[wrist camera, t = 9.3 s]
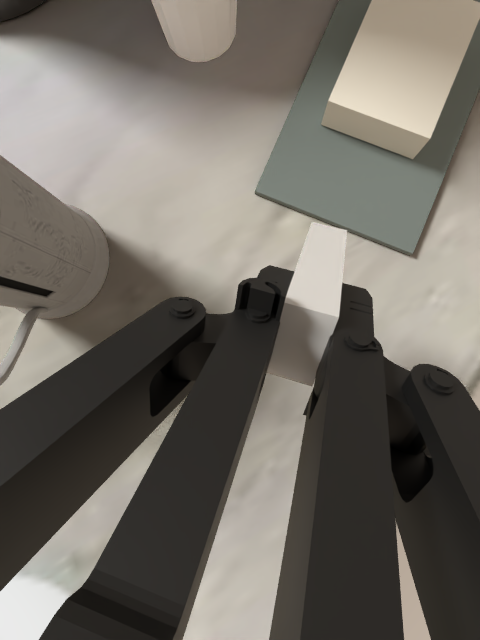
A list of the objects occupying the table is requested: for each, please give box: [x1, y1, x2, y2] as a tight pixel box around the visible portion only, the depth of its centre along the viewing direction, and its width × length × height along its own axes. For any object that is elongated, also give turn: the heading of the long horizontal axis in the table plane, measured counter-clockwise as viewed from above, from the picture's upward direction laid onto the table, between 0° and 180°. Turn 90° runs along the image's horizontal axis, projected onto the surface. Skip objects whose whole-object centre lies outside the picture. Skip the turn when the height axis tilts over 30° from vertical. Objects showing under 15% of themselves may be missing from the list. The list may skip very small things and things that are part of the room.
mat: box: [255, 0, 480, 256], centre depth 25 cm, size 20×12×1 cm, turn 157°
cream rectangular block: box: [321, 0, 480, 159], centre depth 24 cm, size 3×7×10 cm
